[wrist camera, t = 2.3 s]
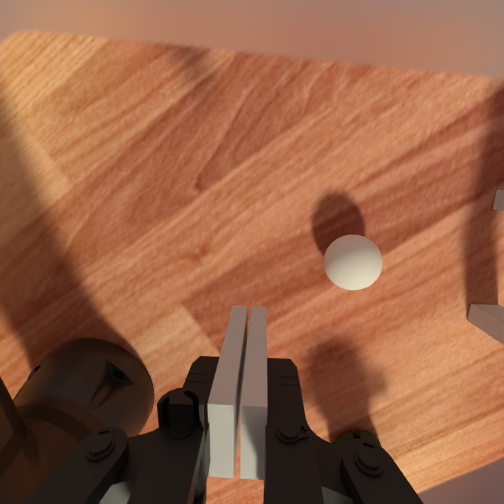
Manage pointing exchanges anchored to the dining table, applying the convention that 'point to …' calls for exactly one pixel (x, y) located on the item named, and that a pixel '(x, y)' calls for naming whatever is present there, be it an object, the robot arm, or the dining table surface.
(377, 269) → the ball
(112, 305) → the dining table surface
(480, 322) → the bridge
